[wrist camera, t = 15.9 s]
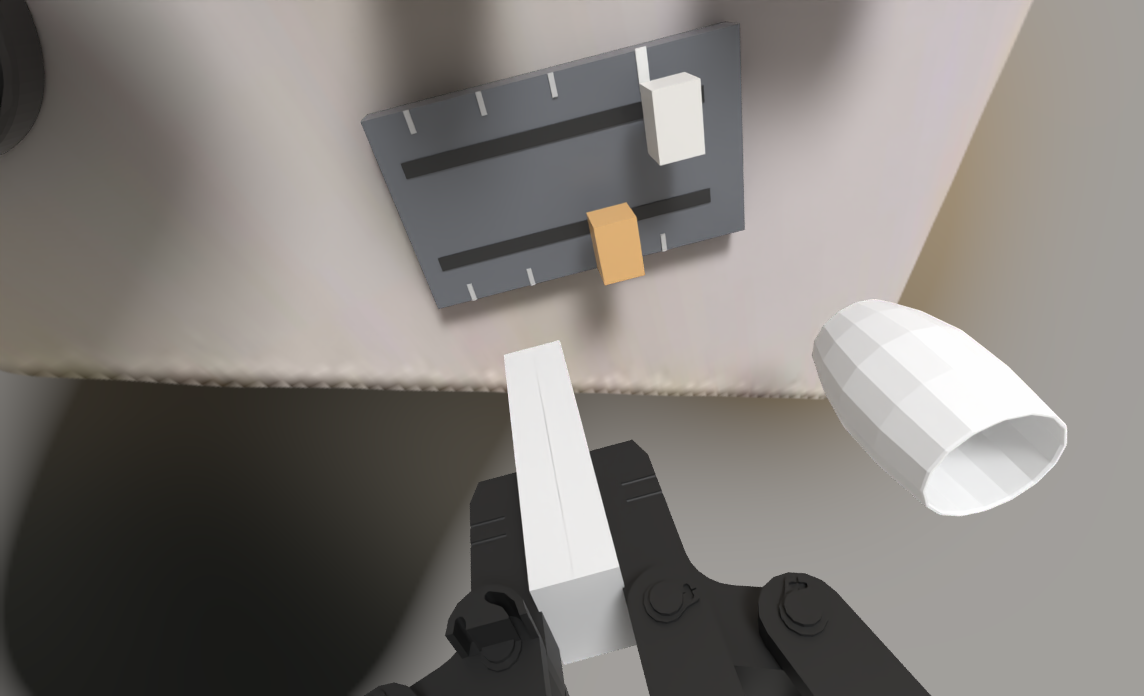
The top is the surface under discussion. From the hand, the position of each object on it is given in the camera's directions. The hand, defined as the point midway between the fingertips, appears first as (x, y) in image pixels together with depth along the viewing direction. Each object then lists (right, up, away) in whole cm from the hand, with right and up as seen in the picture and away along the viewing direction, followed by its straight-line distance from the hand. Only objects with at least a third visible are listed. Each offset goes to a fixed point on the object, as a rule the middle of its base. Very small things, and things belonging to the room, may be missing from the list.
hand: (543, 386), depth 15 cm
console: (+1, +12, +19) cm, 23 cm away
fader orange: (+3, +9, +19) cm, 21 cm away
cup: (+16, +8, +25) cm, 31 cm away
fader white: (+5, +15, +16) cm, 22 cm away
